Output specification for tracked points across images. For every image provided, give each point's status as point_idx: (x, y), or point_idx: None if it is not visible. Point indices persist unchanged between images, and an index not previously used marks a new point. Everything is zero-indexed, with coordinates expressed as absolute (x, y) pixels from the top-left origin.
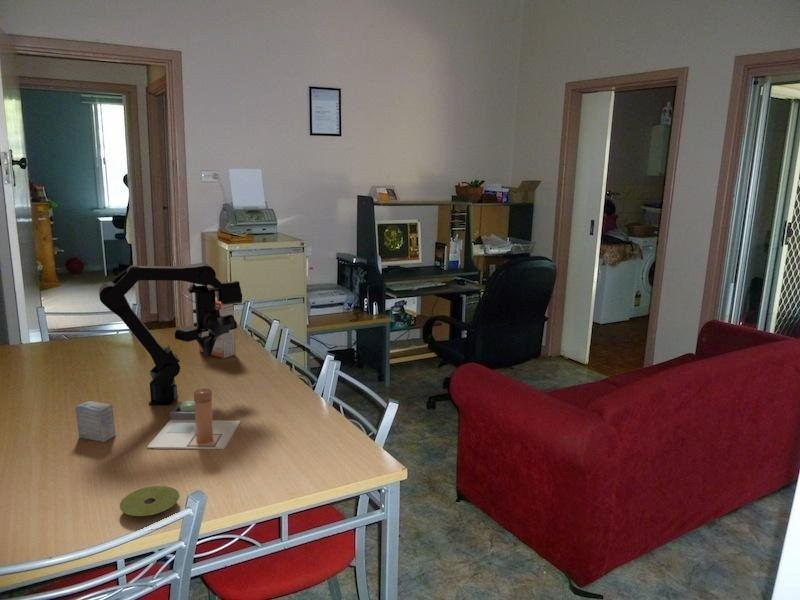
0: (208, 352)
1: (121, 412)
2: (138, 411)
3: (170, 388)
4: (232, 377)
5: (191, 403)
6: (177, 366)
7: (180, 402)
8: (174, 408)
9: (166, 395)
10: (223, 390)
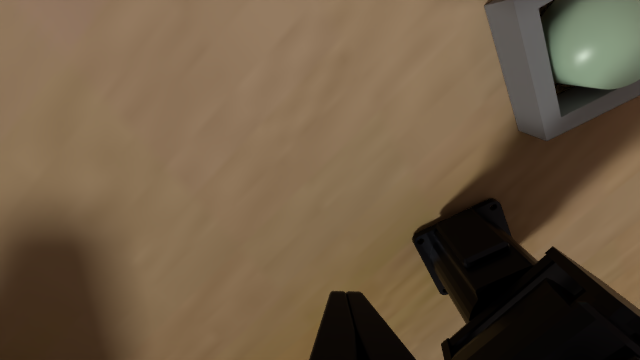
0: (382, 330)
1: (592, 273)
2: (574, 240)
3: (515, 247)
4: (113, 223)
5: (616, 31)
6: (612, 324)
7: (556, 130)
8: (636, 93)
9: (507, 237)
10: (252, 138)
